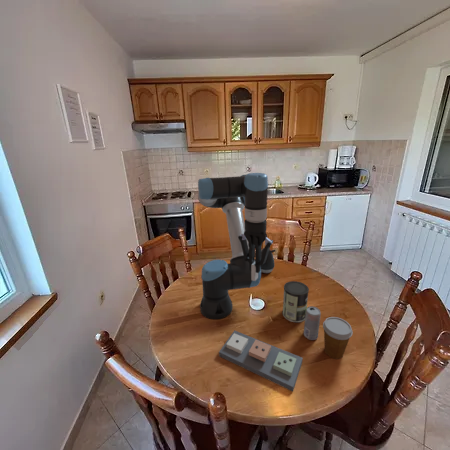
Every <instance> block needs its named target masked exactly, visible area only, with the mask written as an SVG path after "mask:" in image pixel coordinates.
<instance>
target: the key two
mask: <svg viewBox="0 0 450 450" xmlns="http://www.w3.org/2000/svg"><path fill="white" fill-rule="evenodd" d="M258 340H259V339H257V340H255V342H254V343H253V345H252V347H251V348H250V350H249V355H250V356H252V357H254V358H257V359H259V360H261V361H263V362H265V361H266V359H267V357H268V355H269V353H270V351H271V346H270V345H271V344H270V345H268V344H269V343H267V344H265V343H266V342H265V343H263V342H264V341H262V342H260V341H261V340H260V341H258Z"/></svg>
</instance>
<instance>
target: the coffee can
mask: <svg viewBox="0 0 450 450" xmlns="http://www.w3.org/2000/svg"><path fill="white" fill-rule="evenodd" d="M309 292H310V289H309V286H308V285H307V284H305V283H304V282H300V281H296V280H295V281H294V280H291V281H287V282H285V283H284V285H283V303H282V304H283V305H282V316H283V317H284V319H286V320H287V321H289V322H291V323H292V322H293V323H302V322H305V315H306V309H307V308H308V299H309Z"/></svg>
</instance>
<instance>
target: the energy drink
mask: <svg viewBox="0 0 450 450" xmlns="http://www.w3.org/2000/svg"><path fill="white" fill-rule="evenodd" d="M320 322H321V310H320V309H319V308H318V307H316V306H310V305H309V306H307V309H306V315H305V320H304V324H303V325H304V326H303V336H304V337H305V338H307V340H310V341H314V340H317V339H318V338H319V330H320Z"/></svg>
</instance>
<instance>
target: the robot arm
mask: <svg viewBox="0 0 450 450" xmlns="http://www.w3.org/2000/svg"><path fill="white" fill-rule="evenodd" d="M268 180H269V179H268V175H267V174H266V173H262V172H250V173H246V174H242V175H239V176H226V177H205V178H199V179H198V181H197V188H198V193H197V200H198V202H199V204H201V205H202V206H203V207H206V208H208V209H209V208H210V209H221V210H222V213H223V214H225V216H226V223H227V231H228V235H229V242H230V249H231V254H232V257H231V258H230V260H229V263H227V261H226V260H225V259H213V260H210V261H208V262H206V263H205V264H204V265H203V266H202V268H201V276H200V277H201V281H202V297H201V301H200V304H199V305H200V306H199V308H200V313H201V315H202V316H203V317H205V318H207V319H210V320H221V319H224V318H226V317H228V316H229V315H230V314H231V313H232V312H233V301H232V299H231V297H230V294H229V291H230V290H231V291H232V290H238V289H250V288H254V287H258V286H259V284H260V282H261V277H262V272H261V265H263V264H264V263H265V262H266V259H267V256H268V252H269V249H270V248H271V246H272V245H273V244H274V240H273V239H270V238H268V235H267V219H268V218H267V217H268V216H267V215H268V192H269V191H268V189H269V182H268ZM243 211H244V213H243ZM263 243H264V245H265V246H264V247H263V248H264V251H263V254H262V258H261V250H262V246H263ZM270 250H271V249H270Z"/></svg>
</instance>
